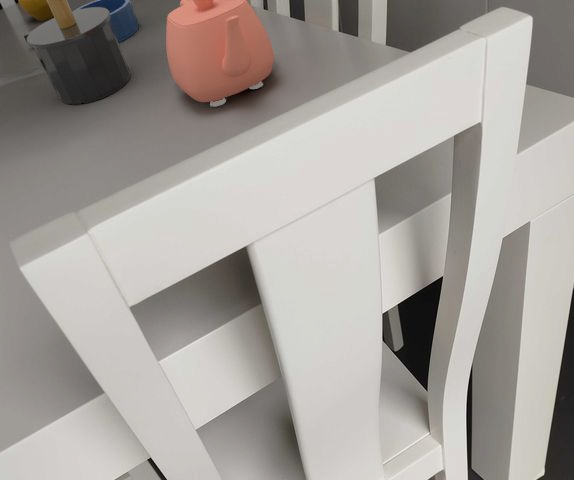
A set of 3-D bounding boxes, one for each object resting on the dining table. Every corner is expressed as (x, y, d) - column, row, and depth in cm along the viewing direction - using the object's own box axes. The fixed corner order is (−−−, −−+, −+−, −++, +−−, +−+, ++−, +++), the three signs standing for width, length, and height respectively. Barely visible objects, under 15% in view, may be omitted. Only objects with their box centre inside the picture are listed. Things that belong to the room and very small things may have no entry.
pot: (57, 112, 89) (28, 55, 83) (62, 82, 97) (35, 28, 91) (131, 90, 89) (107, 30, 82) (130, 61, 97) (108, 5, 90)
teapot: (214, 134, 74) (182, 33, 65) (164, 86, 87) (131, -4, 78) (307, 93, 76) (287, -11, 67) (244, 52, 89) (221, -39, 80)
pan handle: (27, 43, 105) (23, 36, 104) (27, 40, 106) (24, 33, 106) (69, 29, 105) (66, 22, 104) (70, 27, 106) (67, 19, 105)
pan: (77, 56, 104) (64, 29, 101) (79, 34, 112) (68, 8, 109) (140, 36, 104) (129, 9, 100) (138, 16, 112) (128, -10, 108)
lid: (26, 61, 83) (4, 18, 79) (35, 32, 91) (15, -9, 87) (112, 35, 83) (94, -10, 78) (112, 8, 91) (96, -34, 87)
